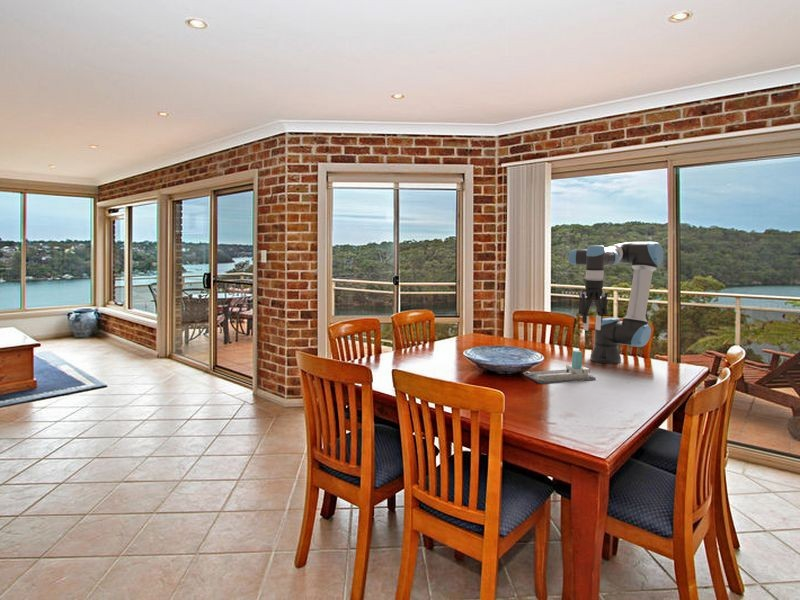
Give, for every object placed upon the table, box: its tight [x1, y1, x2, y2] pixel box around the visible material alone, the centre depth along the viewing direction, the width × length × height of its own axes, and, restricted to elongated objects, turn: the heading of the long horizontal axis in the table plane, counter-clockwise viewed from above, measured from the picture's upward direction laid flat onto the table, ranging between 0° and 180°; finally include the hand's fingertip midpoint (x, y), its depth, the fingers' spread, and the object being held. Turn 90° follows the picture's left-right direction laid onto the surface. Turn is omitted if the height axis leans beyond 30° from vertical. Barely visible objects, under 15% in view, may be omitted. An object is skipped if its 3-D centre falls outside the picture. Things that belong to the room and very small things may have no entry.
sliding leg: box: [565, 350, 583, 374], centre depth 219 cm, size 3×10×12 cm, turn 13°
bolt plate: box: [522, 369, 596, 385], centre depth 221 cm, size 28×16×2 cm, turn 103°
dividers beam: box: [537, 366, 591, 380], centre depth 218 cm, size 25×10×4 cm, turn 103°
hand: (591, 329), depth 217 cm, fingers open, 6 cm apart
